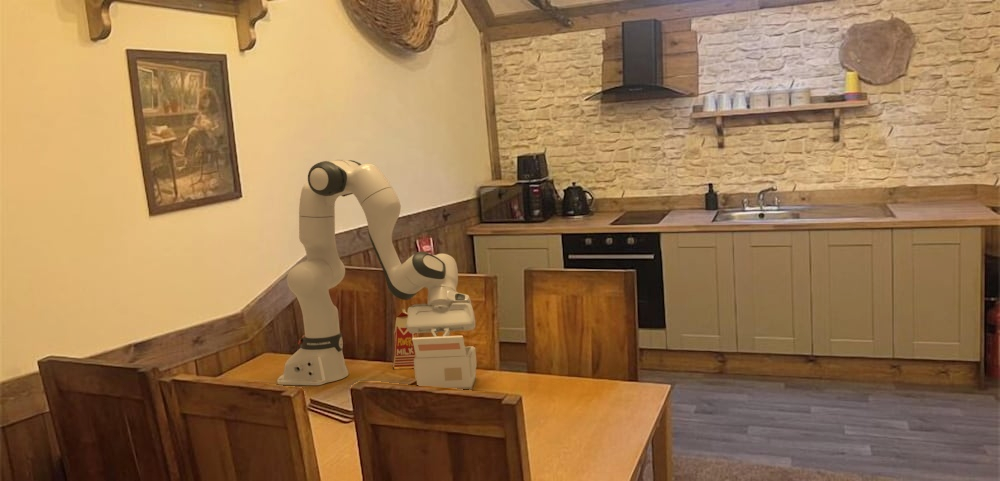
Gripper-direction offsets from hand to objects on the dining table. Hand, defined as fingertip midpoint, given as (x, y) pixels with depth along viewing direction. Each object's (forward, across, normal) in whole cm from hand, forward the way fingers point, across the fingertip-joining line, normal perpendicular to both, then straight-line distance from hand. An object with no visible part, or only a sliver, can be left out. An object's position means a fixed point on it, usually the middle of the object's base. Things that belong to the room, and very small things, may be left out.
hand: (439, 343), depth 210 cm
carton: (+5, 0, +17) cm, 18 cm away
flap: (0, 0, +1) cm, 1 cm away
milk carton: (-12, -17, +34) cm, 40 cm away
